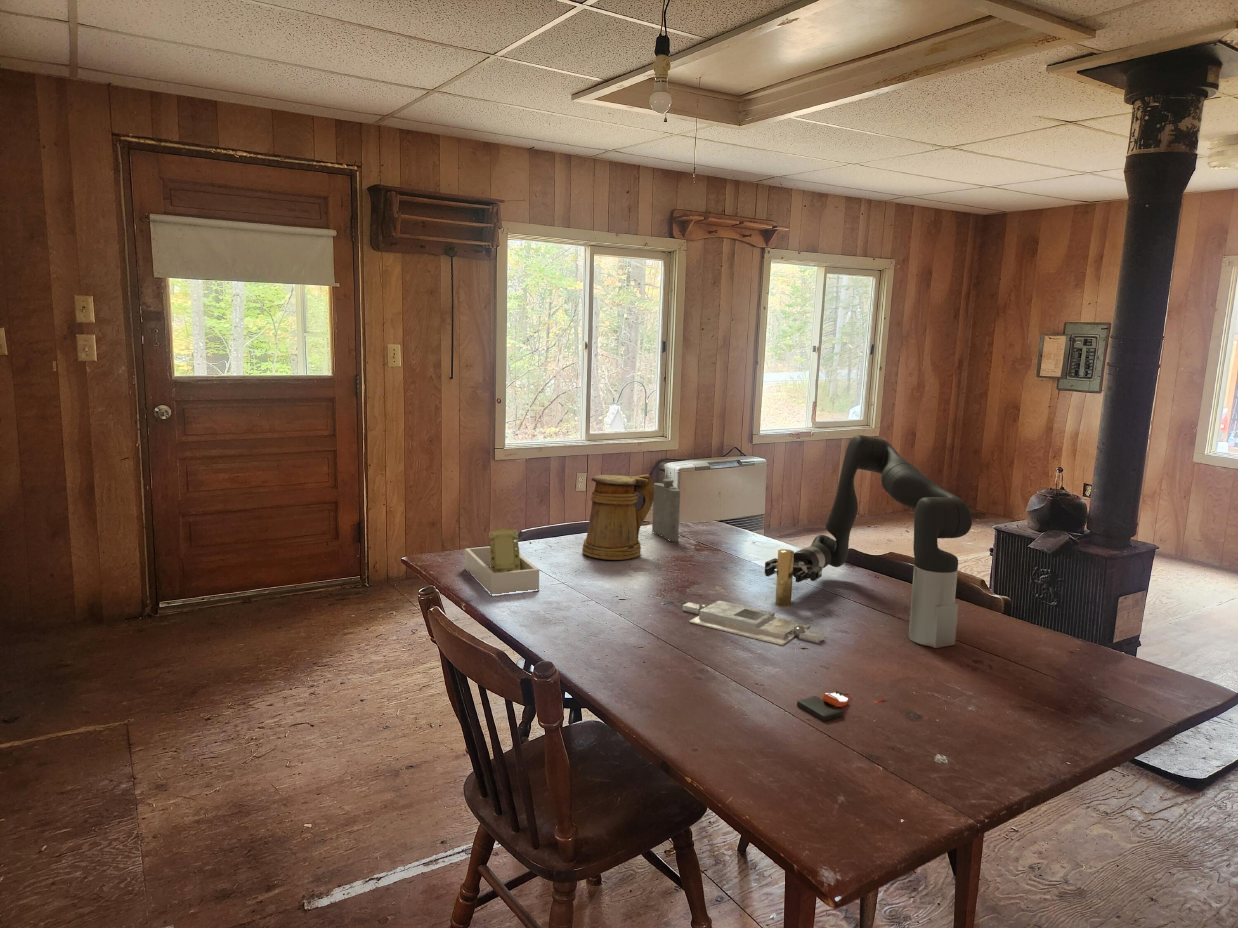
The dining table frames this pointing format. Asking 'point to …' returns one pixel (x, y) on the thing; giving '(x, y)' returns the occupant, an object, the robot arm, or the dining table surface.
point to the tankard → (617, 516)
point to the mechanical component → (504, 550)
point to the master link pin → (784, 577)
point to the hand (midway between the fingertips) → (781, 575)
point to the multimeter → (825, 706)
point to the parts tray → (500, 573)
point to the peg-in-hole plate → (750, 622)
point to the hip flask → (666, 510)
